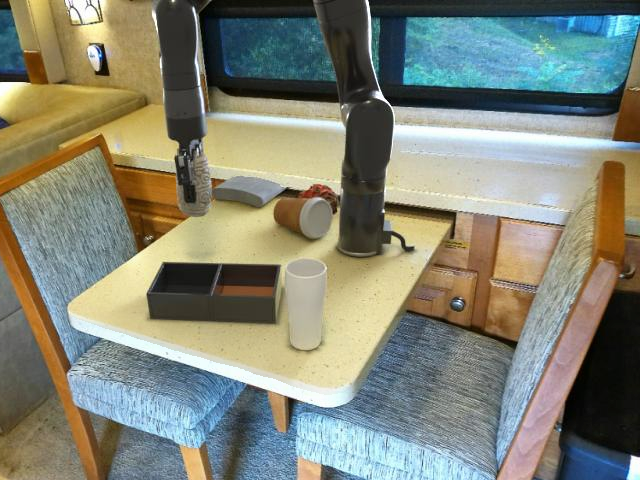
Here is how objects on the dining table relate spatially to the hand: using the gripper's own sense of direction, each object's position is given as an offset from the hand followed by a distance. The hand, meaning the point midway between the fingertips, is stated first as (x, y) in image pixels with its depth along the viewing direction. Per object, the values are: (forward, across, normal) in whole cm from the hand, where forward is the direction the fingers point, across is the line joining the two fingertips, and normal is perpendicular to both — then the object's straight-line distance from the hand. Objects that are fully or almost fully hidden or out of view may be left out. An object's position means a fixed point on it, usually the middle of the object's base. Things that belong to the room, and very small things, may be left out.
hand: (194, 195), depth 120 cm
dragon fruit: (+17, +27, -23) cm, 40 cm away
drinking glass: (+17, -26, -23) cm, 39 cm away
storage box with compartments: (+17, -14, -6) cm, 23 cm away
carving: (+4, 0, 0) cm, 4 cm away
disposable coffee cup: (+14, +22, -15) cm, 30 cm away
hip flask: (+15, +34, -2) cm, 37 cm away
